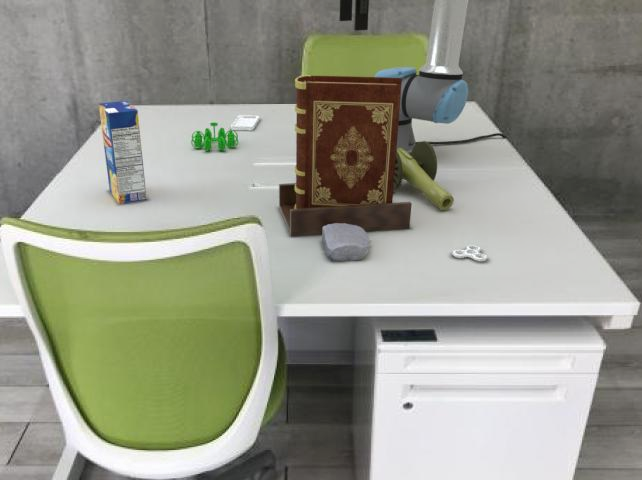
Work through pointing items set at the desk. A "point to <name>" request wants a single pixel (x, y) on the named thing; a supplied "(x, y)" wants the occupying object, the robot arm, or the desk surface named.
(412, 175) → the cannon
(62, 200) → the desk surface
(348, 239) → the stone block
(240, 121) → the phone case
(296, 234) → the book rack
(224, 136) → the chandelier
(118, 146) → the beverage box
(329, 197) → the decorative book
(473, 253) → the fidget spinner
